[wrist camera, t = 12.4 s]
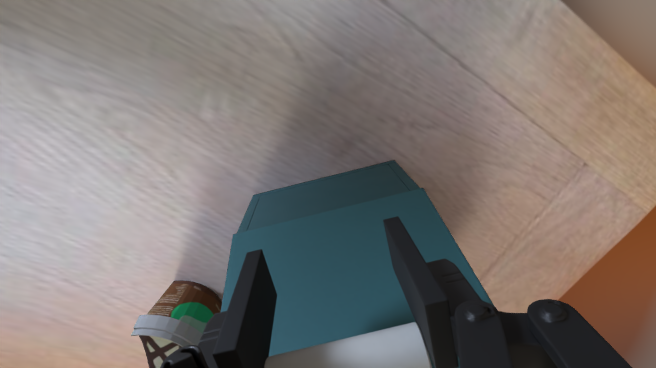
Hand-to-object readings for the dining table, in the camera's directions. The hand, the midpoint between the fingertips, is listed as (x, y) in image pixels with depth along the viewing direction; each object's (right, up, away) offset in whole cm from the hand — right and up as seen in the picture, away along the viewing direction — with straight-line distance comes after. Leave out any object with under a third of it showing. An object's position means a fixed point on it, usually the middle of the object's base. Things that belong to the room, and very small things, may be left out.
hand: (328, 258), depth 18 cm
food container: (-14, -12, +26) cm, 32 cm away
